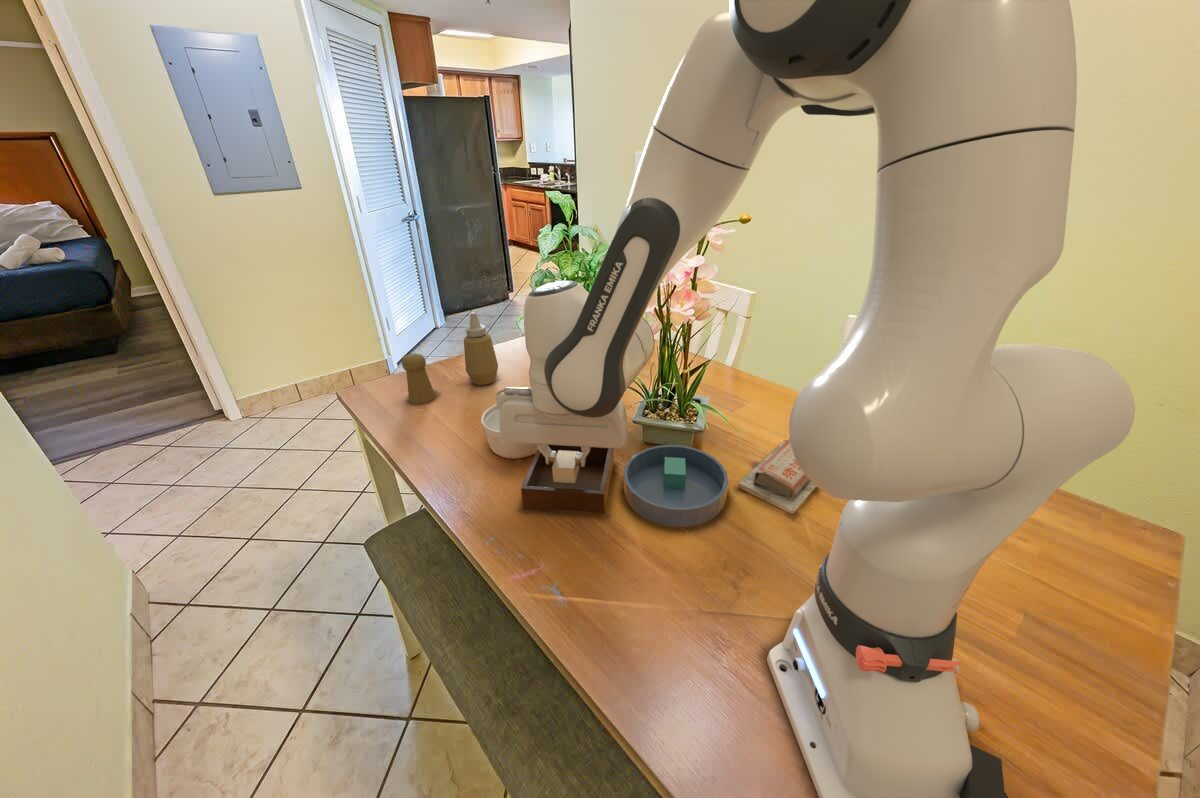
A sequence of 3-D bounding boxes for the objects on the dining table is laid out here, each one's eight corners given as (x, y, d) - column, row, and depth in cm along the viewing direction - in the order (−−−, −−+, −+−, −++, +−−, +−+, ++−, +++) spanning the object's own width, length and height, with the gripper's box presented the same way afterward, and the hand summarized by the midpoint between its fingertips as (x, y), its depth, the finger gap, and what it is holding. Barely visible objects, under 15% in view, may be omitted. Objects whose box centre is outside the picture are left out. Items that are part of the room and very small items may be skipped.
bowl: (730, 532, 73) (733, 513, 71) (619, 524, 75) (619, 505, 73) (720, 465, 88) (722, 447, 86) (628, 459, 90) (628, 442, 88)
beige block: (575, 483, 77) (573, 468, 75) (553, 482, 77) (551, 467, 76) (580, 465, 81) (579, 451, 80) (559, 464, 82) (558, 450, 80)
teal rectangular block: (684, 488, 81) (685, 474, 80) (663, 487, 82) (664, 473, 80) (684, 471, 86) (685, 458, 84) (664, 470, 86) (664, 456, 85)
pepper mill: (411, 406, 111) (400, 363, 105) (407, 395, 115) (396, 354, 110) (437, 399, 113) (428, 357, 108) (432, 389, 118) (423, 348, 112)
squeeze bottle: (496, 387, 118) (486, 318, 109) (464, 388, 118) (451, 319, 109) (502, 373, 125) (493, 307, 116) (472, 373, 125) (460, 307, 116)
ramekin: (474, 442, 97) (468, 413, 93) (528, 419, 104) (524, 391, 101) (508, 472, 88) (503, 441, 84) (564, 444, 95) (562, 414, 92)
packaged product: (787, 424, 90) (841, 444, 84) (783, 445, 93) (836, 466, 87) (739, 467, 79) (798, 493, 73) (736, 489, 82) (792, 517, 75)
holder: (604, 515, 77) (604, 494, 75) (523, 509, 79) (520, 488, 77) (613, 464, 89) (613, 445, 87) (542, 460, 91) (540, 441, 88)
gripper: (487, 396, 70) (499, 471, 77) (625, 403, 67) (625, 479, 74) (500, 377, 75) (511, 448, 82) (629, 382, 73) (628, 455, 79)
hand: (566, 463), depth 78 cm, fingers closed on beige block, 3 cm apart
